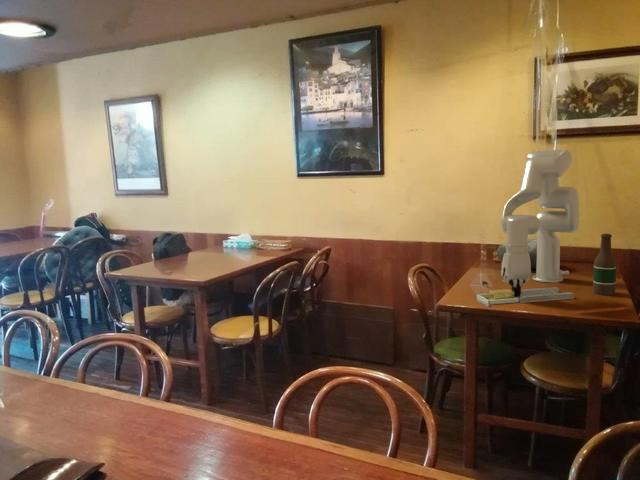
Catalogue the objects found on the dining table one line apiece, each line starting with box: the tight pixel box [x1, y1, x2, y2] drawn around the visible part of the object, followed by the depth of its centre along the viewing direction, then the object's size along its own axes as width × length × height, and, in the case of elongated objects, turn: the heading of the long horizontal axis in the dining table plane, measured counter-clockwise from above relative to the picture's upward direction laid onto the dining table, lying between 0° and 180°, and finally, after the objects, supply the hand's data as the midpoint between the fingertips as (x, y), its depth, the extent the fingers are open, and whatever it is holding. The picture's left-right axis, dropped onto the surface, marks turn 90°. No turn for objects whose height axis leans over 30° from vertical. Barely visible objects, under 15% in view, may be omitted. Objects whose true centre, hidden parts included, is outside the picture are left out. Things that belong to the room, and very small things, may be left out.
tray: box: [475, 293, 520, 308], centre depth 186 cm, size 12×10×2 cm
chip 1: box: [488, 289, 504, 300], centre depth 186 cm, size 4×4×4 cm
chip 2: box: [499, 288, 514, 299], centre depth 187 cm, size 4×4×4 cm
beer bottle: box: [592, 233, 617, 296], centre depth 192 cm, size 8×8×24 cm
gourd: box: [496, 238, 537, 270], centre depth 249 cm, size 25×25×17 cm
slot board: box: [514, 286, 575, 304], centre depth 189 cm, size 22×12×3 cm, turn 98°
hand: (516, 296), depth 187 cm, fingers closed
